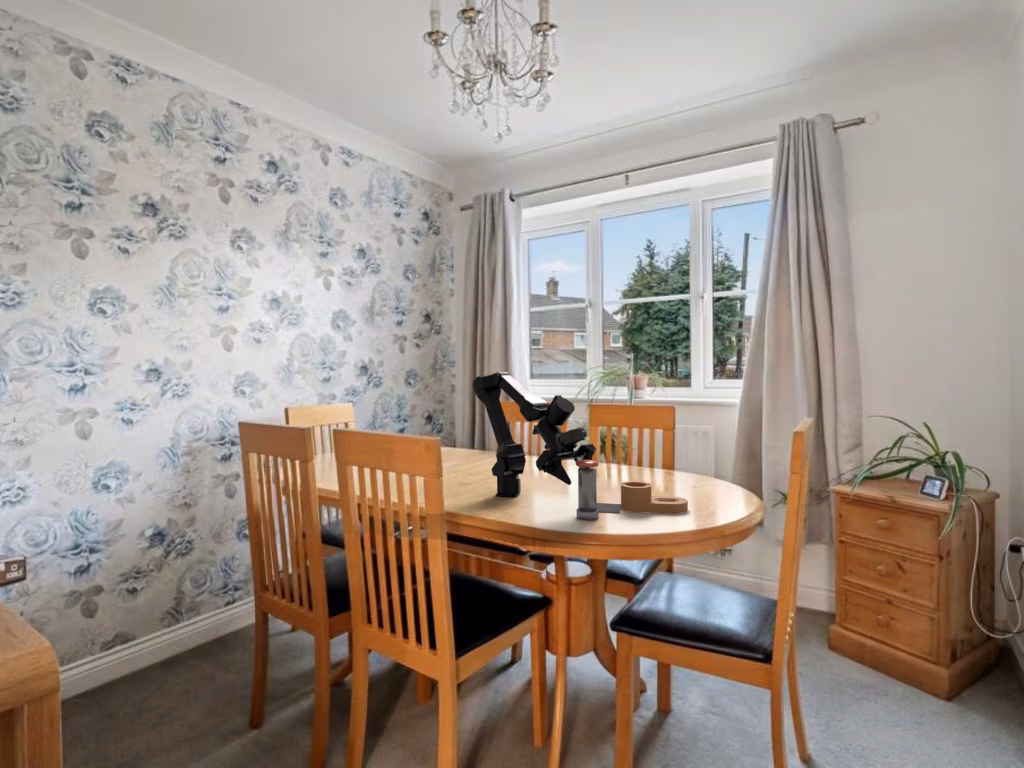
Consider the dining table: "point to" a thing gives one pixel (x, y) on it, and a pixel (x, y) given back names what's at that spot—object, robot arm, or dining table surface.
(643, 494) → the bracket
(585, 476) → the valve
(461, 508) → the dining table surface
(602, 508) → the dark grey rectangular plate
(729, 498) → the dining table surface
